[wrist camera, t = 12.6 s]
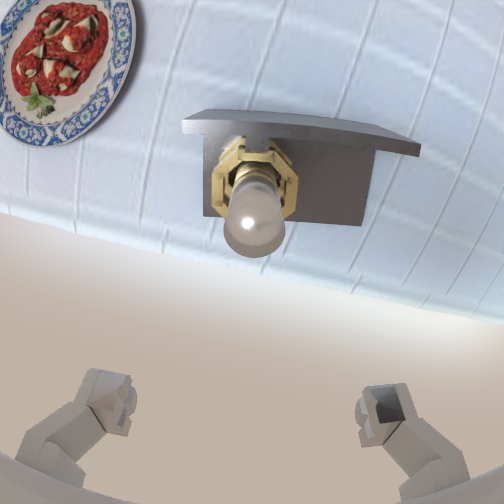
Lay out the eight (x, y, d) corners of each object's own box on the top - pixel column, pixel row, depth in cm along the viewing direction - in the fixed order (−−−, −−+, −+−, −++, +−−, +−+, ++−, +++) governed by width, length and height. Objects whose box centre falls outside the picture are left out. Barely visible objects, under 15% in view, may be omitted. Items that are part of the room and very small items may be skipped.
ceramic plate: (50, -45, 20) (39, -50, 17) (184, 8, 27) (178, 2, 24) (-23, 102, 30) (-36, 105, 27) (80, 177, 37) (69, 184, 35)
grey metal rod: (275, 151, 34) (289, 202, 20) (272, 186, 36) (283, 260, 22) (238, 149, 34) (222, 198, 20) (236, 183, 36) (221, 257, 22)
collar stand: (375, 125, 33) (421, 144, 23) (358, 222, 40) (390, 272, 29) (205, 109, 33) (181, 119, 23) (204, 212, 40) (185, 262, 29)
